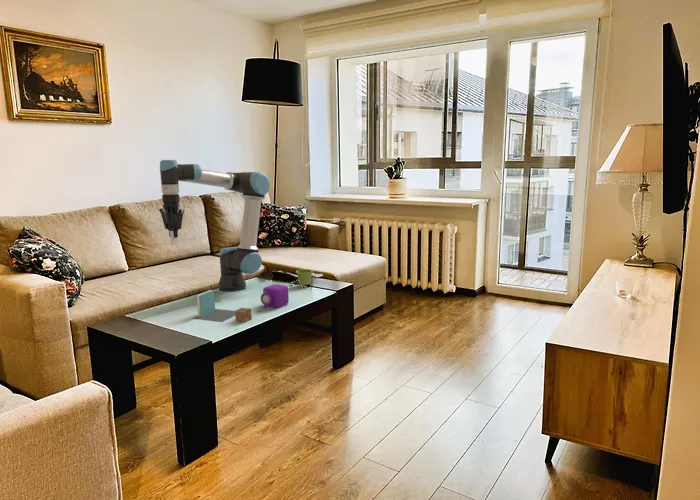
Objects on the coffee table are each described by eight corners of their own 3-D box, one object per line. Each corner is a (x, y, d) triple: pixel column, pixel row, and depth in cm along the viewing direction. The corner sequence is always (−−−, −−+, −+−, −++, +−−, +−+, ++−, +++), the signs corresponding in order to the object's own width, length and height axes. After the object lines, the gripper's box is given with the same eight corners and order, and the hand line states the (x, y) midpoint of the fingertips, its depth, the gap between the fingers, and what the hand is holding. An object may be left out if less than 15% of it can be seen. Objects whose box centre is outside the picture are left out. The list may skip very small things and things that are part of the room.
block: (242, 318, 220) (241, 307, 219) (251, 319, 219) (251, 308, 218) (235, 321, 216) (235, 310, 215) (245, 322, 214) (244, 311, 213)
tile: (211, 310, 231) (210, 290, 230) (215, 311, 231) (213, 290, 229) (198, 316, 222) (196, 295, 220) (201, 317, 221) (200, 295, 220)
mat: (213, 309, 234) (213, 308, 234) (242, 312, 229) (242, 311, 229) (192, 319, 220) (192, 318, 220) (222, 322, 214) (222, 322, 214)
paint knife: (302, 287, 275) (302, 283, 275) (280, 285, 281) (280, 281, 280) (325, 276, 303) (325, 272, 302) (304, 274, 308) (304, 270, 307)
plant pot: (312, 288, 272) (311, 272, 270) (295, 288, 272) (294, 273, 270) (313, 284, 281) (313, 269, 280) (297, 284, 281) (296, 269, 280)
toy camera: (257, 309, 234) (256, 288, 232) (271, 301, 247) (270, 282, 245) (277, 310, 230) (276, 290, 229) (290, 303, 243) (290, 283, 241)
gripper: (153, 194, 225) (157, 244, 229) (176, 194, 221) (180, 246, 225) (165, 193, 232) (168, 242, 236) (187, 193, 228) (190, 243, 232)
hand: (174, 244), depth 231 cm, fingers closed
